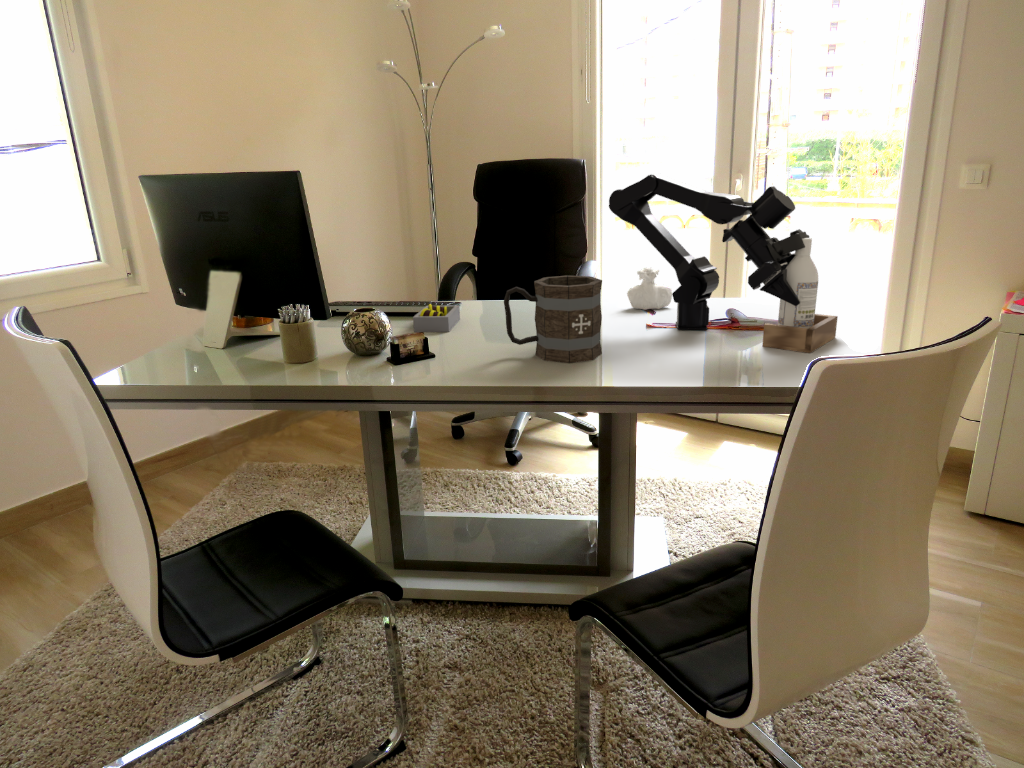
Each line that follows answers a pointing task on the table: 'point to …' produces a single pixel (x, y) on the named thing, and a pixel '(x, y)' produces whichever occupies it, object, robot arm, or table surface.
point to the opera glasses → (434, 311)
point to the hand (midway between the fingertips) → (804, 301)
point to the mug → (563, 318)
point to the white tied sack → (649, 292)
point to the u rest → (801, 335)
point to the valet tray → (437, 321)
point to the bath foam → (801, 289)
